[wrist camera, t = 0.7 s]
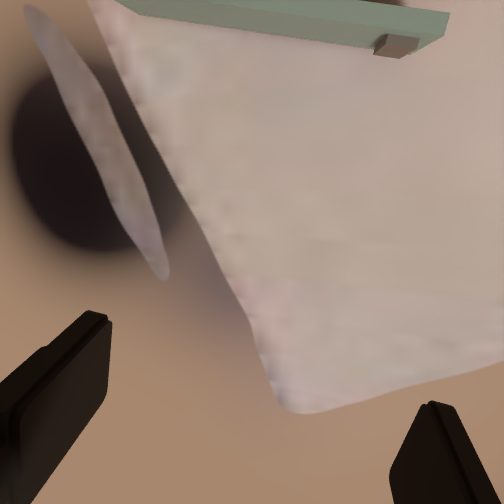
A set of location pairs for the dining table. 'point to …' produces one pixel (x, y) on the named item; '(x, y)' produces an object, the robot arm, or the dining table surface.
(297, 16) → the sage green panel
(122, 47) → the dining table surface
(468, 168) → the dining table surface
